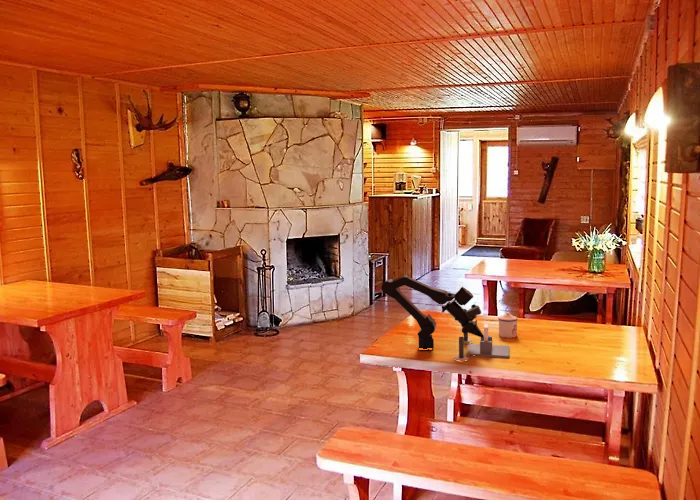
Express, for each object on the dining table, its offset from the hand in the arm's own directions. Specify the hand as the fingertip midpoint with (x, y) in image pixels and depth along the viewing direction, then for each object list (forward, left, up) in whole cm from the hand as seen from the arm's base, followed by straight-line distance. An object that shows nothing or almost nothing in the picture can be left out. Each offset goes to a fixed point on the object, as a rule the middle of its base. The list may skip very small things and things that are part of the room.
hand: (482, 336), depth 260 cm
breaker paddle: (+1, 0, -5) cm, 5 cm away
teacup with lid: (+16, +29, -7) cm, 34 cm away
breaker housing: (+1, 0, -7) cm, 7 cm away
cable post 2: (-6, +15, -7) cm, 18 cm away
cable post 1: (-11, -12, -7) cm, 18 cm away
